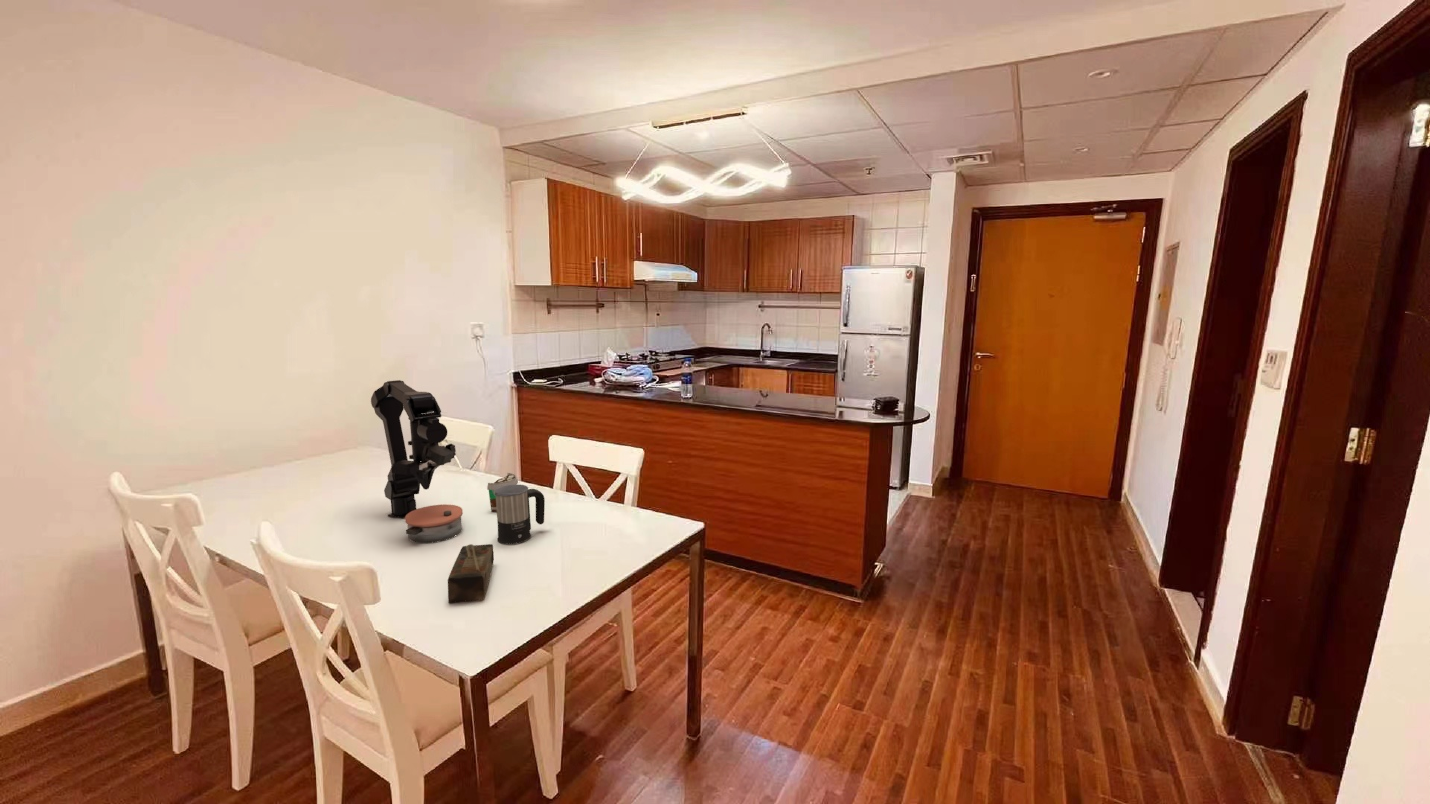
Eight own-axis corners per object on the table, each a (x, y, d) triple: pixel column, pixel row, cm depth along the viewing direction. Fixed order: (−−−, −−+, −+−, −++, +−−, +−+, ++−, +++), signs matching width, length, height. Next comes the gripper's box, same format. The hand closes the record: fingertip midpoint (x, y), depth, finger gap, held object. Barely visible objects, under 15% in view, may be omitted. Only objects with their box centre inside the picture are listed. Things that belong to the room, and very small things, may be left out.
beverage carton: (495, 564, 147) (494, 540, 146) (485, 602, 129) (483, 575, 128) (462, 567, 145) (460, 543, 144) (447, 606, 127) (445, 578, 126)
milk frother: (510, 548, 157) (508, 496, 154) (475, 535, 165) (472, 486, 162) (550, 531, 168) (549, 483, 166) (516, 519, 177) (513, 474, 174)
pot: (390, 543, 158) (388, 526, 157) (437, 518, 176) (436, 503, 175) (433, 549, 155) (432, 531, 154) (477, 523, 173) (476, 508, 172)
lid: (392, 523, 159) (392, 517, 159) (430, 505, 174) (430, 499, 173) (438, 529, 156) (438, 522, 156) (473, 510, 170) (473, 504, 170)
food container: (506, 515, 180) (504, 485, 179) (488, 513, 181) (486, 483, 180) (526, 502, 192) (524, 473, 190) (509, 500, 193) (508, 472, 192)
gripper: (422, 447, 151) (426, 502, 154) (468, 431, 169) (471, 482, 172) (387, 443, 154) (392, 498, 157) (436, 429, 172) (439, 478, 175)
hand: (426, 489), depth 165 cm, fingers closed
